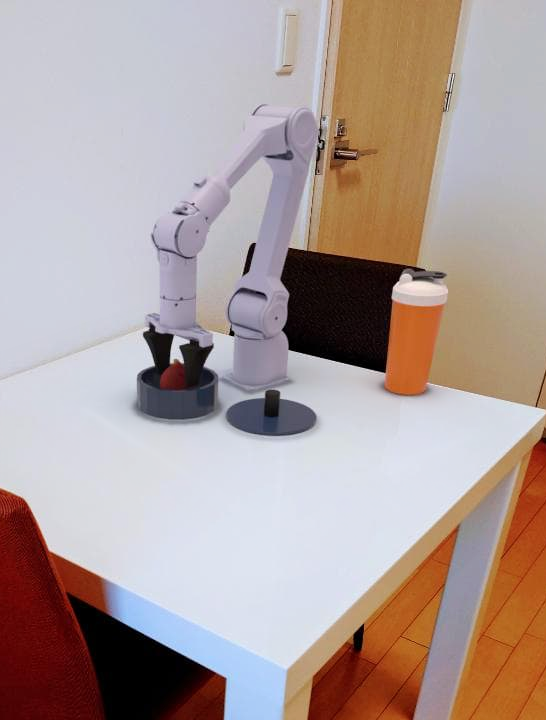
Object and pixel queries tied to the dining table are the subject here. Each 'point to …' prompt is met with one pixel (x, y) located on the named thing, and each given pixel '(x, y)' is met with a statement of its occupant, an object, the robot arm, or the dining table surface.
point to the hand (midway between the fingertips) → (177, 378)
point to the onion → (174, 377)
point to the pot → (176, 396)
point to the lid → (271, 415)
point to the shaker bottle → (414, 330)
